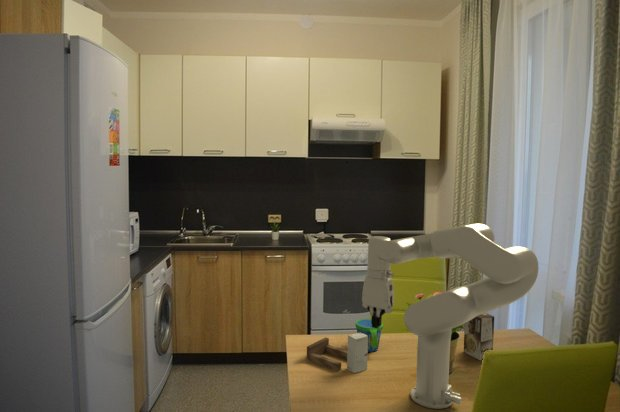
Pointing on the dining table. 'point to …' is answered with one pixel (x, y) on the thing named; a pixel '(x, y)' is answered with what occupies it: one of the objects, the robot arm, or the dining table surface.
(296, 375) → the dining table surface
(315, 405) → the dining table surface
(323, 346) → the u rest
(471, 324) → the coffee box
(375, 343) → the snack cup
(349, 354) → the skincare box
